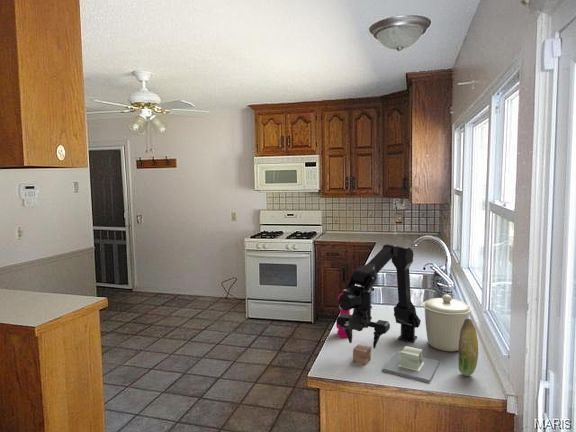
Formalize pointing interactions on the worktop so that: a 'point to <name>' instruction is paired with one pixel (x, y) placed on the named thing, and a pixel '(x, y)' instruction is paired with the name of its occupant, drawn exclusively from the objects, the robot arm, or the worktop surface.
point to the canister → (445, 321)
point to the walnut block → (362, 354)
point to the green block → (411, 357)
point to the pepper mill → (340, 331)
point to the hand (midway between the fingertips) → (362, 345)
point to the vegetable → (468, 348)
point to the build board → (421, 374)
